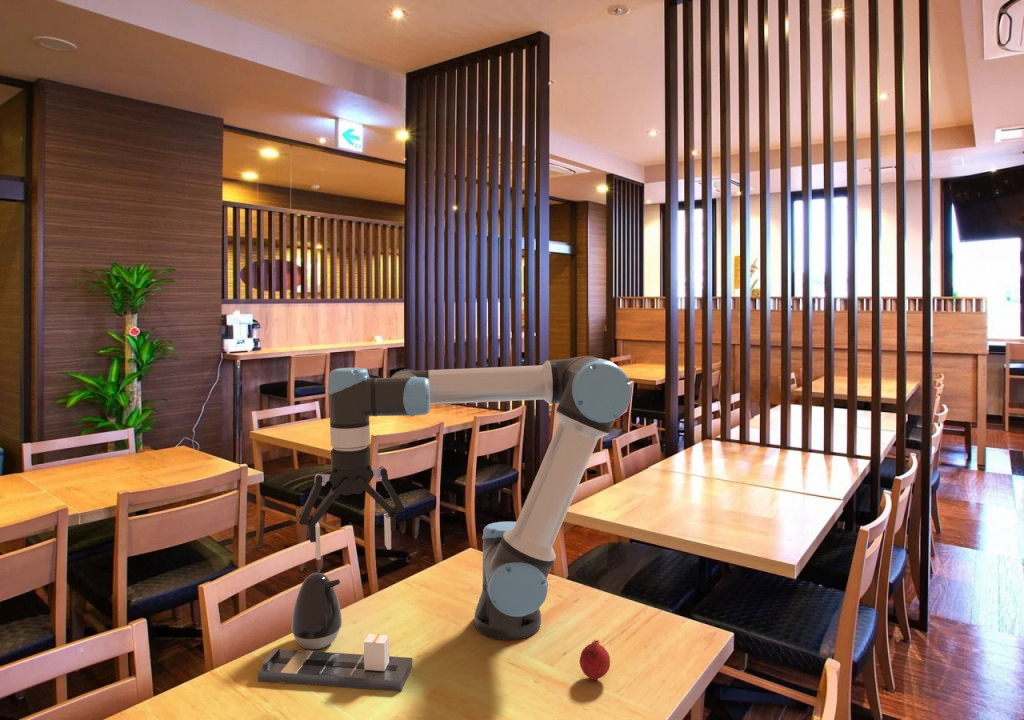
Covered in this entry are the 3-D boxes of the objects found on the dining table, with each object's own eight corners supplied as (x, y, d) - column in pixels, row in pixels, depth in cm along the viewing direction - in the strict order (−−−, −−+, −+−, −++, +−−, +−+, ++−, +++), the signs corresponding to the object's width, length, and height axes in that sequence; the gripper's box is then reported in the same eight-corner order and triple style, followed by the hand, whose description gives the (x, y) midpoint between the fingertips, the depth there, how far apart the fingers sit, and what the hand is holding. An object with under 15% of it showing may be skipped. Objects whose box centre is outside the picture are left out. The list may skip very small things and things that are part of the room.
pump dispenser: (328, 658, 130) (327, 586, 128) (282, 652, 132) (281, 581, 130) (351, 633, 140) (350, 566, 138) (307, 628, 142) (306, 562, 140)
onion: (601, 692, 119) (602, 651, 119) (574, 682, 122) (575, 642, 122) (614, 677, 124) (615, 637, 124) (587, 668, 127) (588, 629, 127)
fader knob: (389, 662, 125) (388, 634, 124) (384, 671, 122) (384, 642, 121) (369, 661, 125) (369, 633, 124) (364, 669, 122) (363, 641, 121)
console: (412, 667, 127) (412, 653, 127) (401, 691, 119) (401, 675, 119) (277, 658, 129) (277, 644, 129) (258, 681, 122) (257, 666, 121)
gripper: (409, 437, 133) (411, 536, 135) (282, 448, 124) (286, 554, 125) (417, 444, 126) (419, 549, 128) (283, 456, 117) (288, 569, 118)
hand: (353, 552), depth 127 cm, fingers open, 13 cm apart
